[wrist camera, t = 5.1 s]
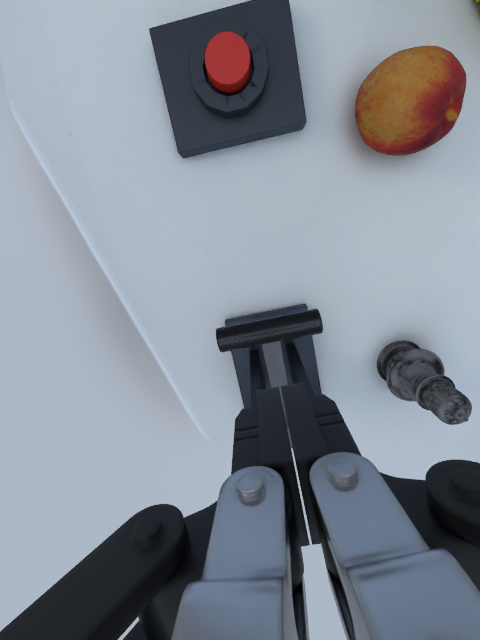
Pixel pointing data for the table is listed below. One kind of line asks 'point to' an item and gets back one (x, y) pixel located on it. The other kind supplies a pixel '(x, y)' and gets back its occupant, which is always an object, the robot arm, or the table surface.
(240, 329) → the lever
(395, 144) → the fruit
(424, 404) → the black chess piece
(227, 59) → the button
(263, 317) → the bracket
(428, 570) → the robot arm
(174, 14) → the table surface
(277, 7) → the control block
